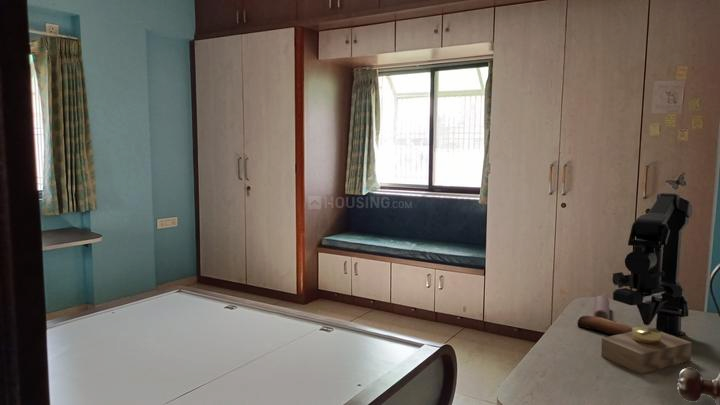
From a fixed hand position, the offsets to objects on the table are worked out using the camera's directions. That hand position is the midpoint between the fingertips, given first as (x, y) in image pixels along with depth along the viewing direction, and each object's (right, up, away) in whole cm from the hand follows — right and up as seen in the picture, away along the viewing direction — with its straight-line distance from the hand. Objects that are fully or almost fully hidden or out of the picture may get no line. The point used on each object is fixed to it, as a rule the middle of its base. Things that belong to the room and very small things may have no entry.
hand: (646, 324), depth 133 cm
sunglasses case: (+1, -8, +21) cm, 22 cm away
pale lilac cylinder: (+5, -6, +36) cm, 37 cm away
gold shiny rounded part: (0, -9, +1) cm, 9 cm away
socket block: (0, -9, +1) cm, 9 cm away
